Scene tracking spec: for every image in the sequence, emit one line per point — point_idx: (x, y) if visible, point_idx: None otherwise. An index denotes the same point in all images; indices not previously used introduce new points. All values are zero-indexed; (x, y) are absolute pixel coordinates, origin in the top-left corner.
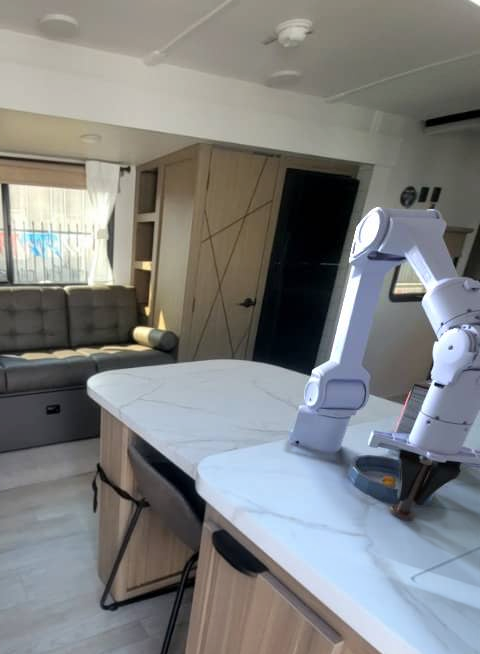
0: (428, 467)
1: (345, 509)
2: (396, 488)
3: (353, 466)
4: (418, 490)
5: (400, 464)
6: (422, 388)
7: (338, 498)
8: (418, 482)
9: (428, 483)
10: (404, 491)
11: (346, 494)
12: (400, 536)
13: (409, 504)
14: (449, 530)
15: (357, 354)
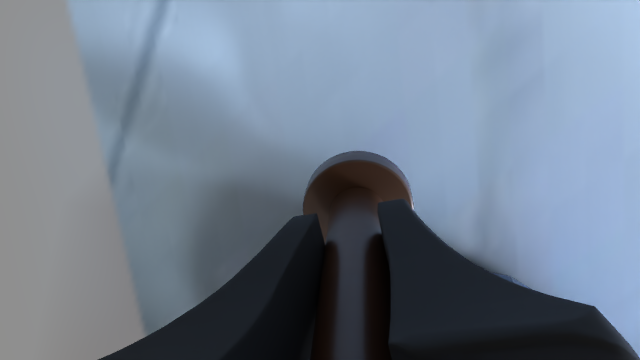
0: None
1: (576, 141)
2: None
3: None
4: (328, 280)
5: (603, 318)
6: None
7: (610, 216)
8: (345, 310)
9: (282, 307)
10: (402, 222)
11: (574, 273)
12: (334, 88)
13: (345, 213)
14: (194, 269)
15: None
